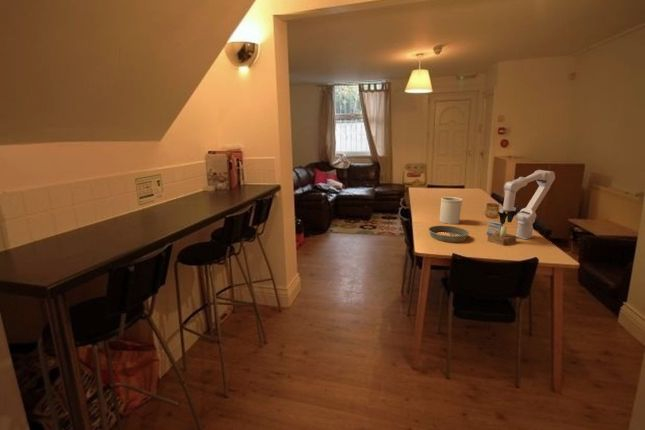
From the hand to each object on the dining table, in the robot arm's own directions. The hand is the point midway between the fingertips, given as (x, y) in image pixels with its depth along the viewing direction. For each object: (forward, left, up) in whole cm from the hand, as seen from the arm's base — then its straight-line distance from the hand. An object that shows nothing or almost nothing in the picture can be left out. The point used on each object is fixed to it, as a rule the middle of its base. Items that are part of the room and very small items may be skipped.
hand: (505, 222), depth 217 cm
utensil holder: (-5, -45, -11) cm, 47 cm away
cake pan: (+27, -21, -11) cm, 36 cm away
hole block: (+6, +2, -10) cm, 12 cm away
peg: (+6, +2, -10) cm, 12 cm away
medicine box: (-2, -8, -11) cm, 14 cm away
